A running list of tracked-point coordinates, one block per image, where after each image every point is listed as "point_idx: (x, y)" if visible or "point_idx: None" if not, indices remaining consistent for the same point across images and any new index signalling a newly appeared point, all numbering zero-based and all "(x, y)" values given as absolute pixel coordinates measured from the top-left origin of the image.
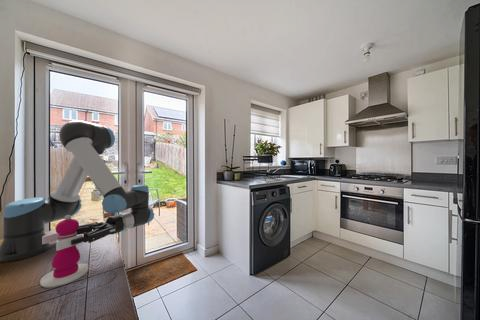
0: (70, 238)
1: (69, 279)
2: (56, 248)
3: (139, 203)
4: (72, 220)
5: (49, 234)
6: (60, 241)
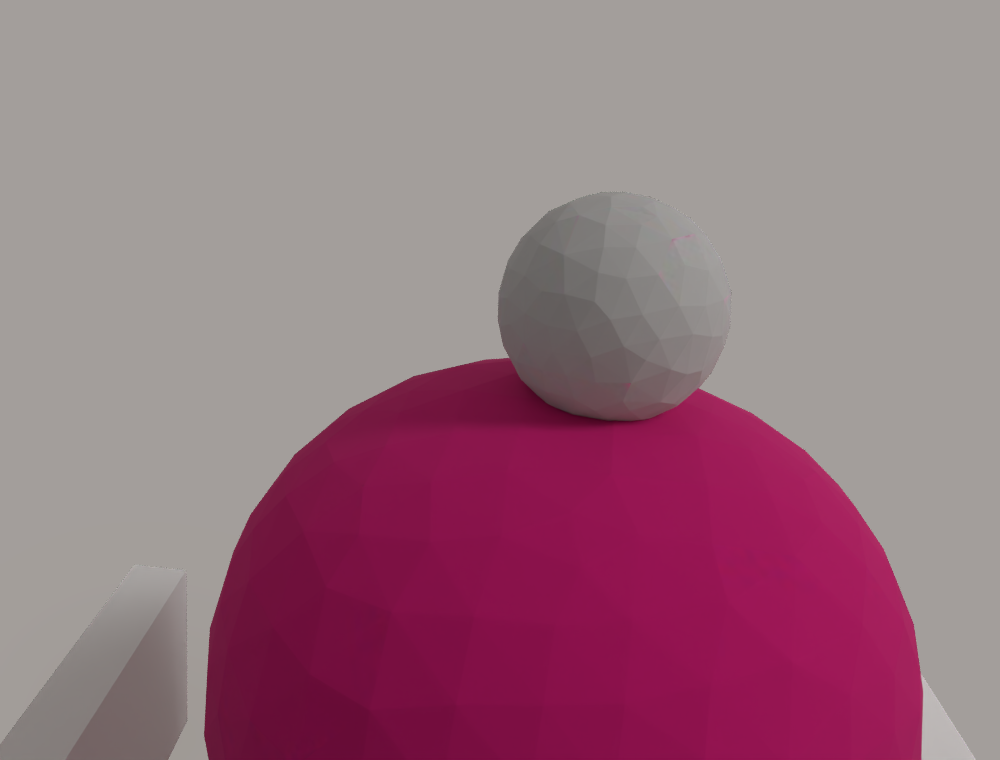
0: (24, 723)
1: None
2: (178, 689)
3: None
4: (405, 449)
5: (949, 731)
6: (112, 596)
